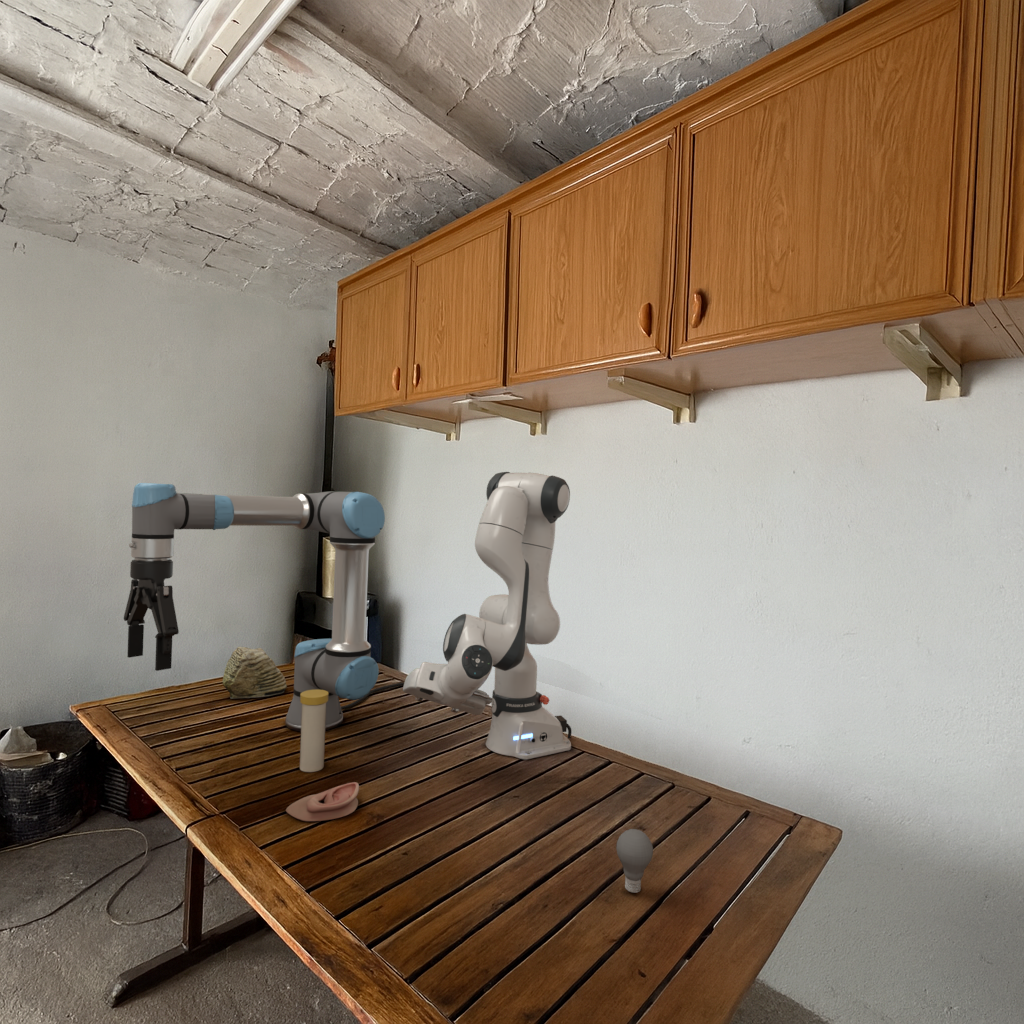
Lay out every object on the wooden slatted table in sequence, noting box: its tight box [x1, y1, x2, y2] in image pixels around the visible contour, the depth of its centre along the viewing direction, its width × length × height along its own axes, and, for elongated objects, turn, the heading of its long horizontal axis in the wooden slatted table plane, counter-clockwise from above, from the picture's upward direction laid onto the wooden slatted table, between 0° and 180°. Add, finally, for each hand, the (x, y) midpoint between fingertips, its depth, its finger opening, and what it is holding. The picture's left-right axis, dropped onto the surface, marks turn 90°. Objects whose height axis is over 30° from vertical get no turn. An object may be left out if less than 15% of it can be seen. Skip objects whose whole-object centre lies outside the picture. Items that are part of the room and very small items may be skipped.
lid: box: [300, 689, 329, 705], centre depth 148 cm, size 6×6×2 cm
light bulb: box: [615, 828, 654, 894], centre depth 106 cm, size 6×6×10 cm
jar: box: [299, 703, 326, 773], centre depth 148 cm, size 5×5×17 cm
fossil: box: [222, 646, 288, 699], centre depth 198 cm, size 9×18×15 cm, turn 132°
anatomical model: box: [285, 781, 360, 822], centre depth 129 cm, size 13×4×12 cm
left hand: (148, 662), depth 129 cm, fingers open, 13 cm apart
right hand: (436, 703), depth 157 cm, fingers open, 8 cm apart
